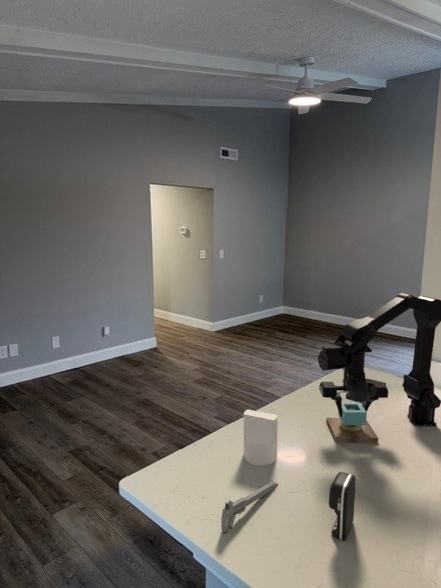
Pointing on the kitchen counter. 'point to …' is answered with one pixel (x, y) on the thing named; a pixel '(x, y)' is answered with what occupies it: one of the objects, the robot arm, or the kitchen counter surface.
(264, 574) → the kitchen counter surface
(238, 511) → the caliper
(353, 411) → the collar
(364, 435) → the stand
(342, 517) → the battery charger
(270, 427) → the white upright block
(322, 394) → the robot arm
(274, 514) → the kitchen counter surface
